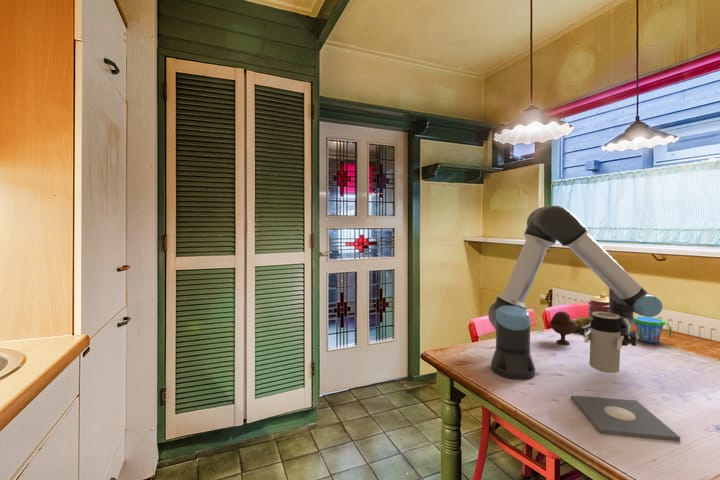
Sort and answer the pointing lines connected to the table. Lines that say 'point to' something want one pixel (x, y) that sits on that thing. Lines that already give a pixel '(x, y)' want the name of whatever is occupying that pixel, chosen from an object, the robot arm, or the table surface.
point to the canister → (598, 304)
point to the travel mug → (605, 342)
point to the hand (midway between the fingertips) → (601, 341)
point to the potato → (582, 322)
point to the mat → (623, 418)
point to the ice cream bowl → (563, 326)
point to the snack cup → (650, 328)
